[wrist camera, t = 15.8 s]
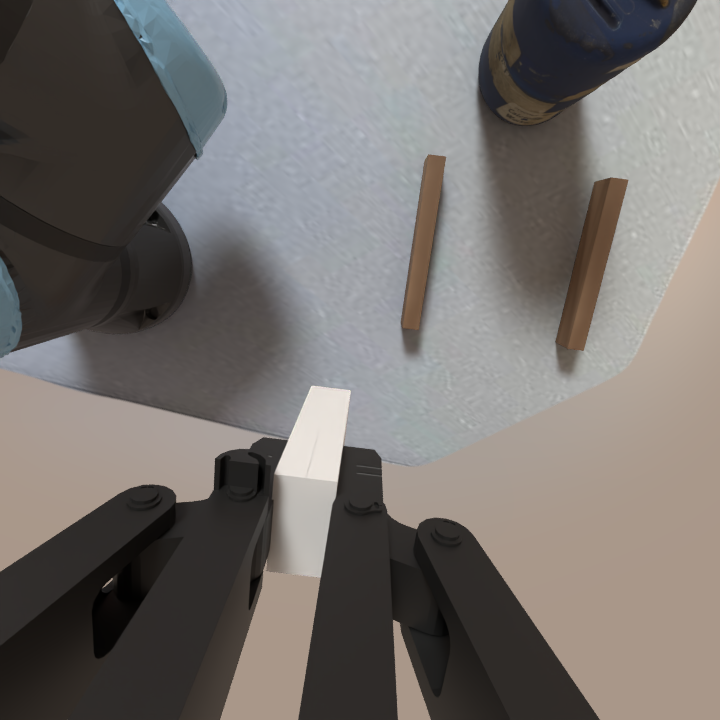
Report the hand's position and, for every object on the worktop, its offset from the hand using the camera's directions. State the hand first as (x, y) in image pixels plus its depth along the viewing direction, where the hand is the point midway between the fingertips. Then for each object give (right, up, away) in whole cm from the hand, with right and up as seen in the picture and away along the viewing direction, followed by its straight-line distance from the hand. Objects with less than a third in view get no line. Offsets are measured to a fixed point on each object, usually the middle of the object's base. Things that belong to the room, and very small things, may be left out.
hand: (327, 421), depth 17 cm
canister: (+17, +29, +24) cm, 41 cm away
